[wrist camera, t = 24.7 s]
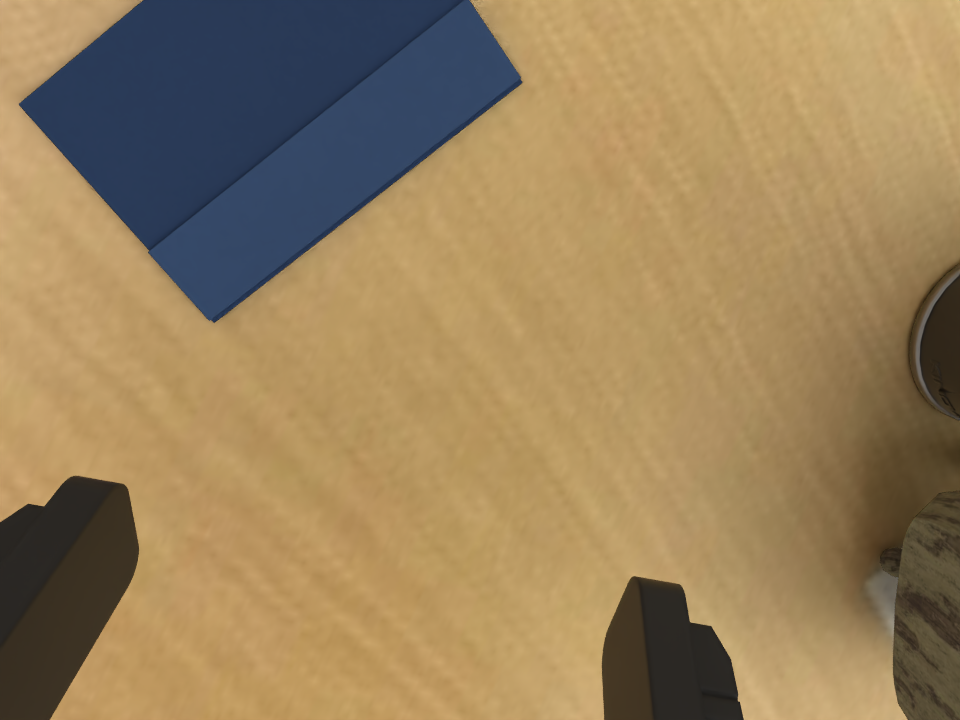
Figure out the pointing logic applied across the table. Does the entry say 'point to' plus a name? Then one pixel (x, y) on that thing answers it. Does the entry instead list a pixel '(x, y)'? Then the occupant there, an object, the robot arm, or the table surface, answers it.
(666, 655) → the robot arm
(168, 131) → the open blue folder
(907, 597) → the tall jug with handle
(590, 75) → the table surface
